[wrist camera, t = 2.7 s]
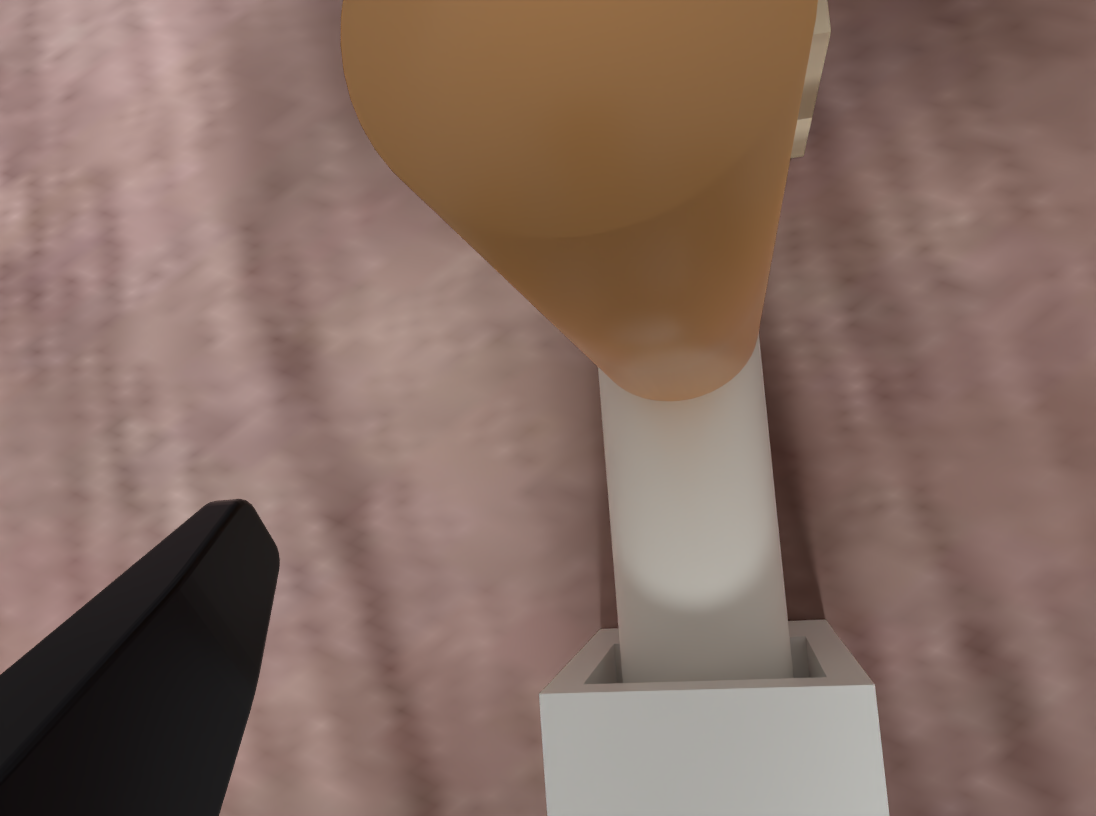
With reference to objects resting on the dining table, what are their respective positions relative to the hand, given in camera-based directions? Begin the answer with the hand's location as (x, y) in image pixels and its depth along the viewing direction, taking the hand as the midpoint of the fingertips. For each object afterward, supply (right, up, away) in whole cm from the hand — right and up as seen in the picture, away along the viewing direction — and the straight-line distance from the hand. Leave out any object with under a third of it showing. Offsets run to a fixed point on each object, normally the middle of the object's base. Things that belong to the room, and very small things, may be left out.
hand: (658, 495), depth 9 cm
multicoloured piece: (+2, -3, +8) cm, 9 cm away
